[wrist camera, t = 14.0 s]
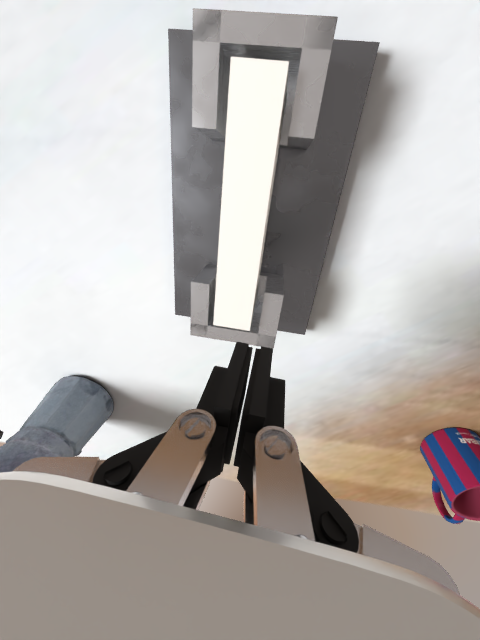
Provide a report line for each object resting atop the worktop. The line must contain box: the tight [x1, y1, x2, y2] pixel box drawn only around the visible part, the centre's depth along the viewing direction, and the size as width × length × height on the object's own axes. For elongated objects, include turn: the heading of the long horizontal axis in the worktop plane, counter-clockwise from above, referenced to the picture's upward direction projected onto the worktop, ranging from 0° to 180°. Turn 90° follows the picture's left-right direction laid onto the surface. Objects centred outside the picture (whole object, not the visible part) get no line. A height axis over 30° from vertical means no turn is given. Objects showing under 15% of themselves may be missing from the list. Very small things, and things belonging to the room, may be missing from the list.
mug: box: [420, 428, 480, 524], centre depth 30 cm, size 7×10×7 cm
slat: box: [213, 57, 289, 331], centre depth 19 cm, size 3×16×5 cm, turn 174°
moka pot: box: [0, 376, 113, 473], centre depth 30 cm, size 10×15×20 cm, turn 58°
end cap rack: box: [168, 9, 380, 348], centre depth 21 cm, size 14×22×6 cm, turn 174°
